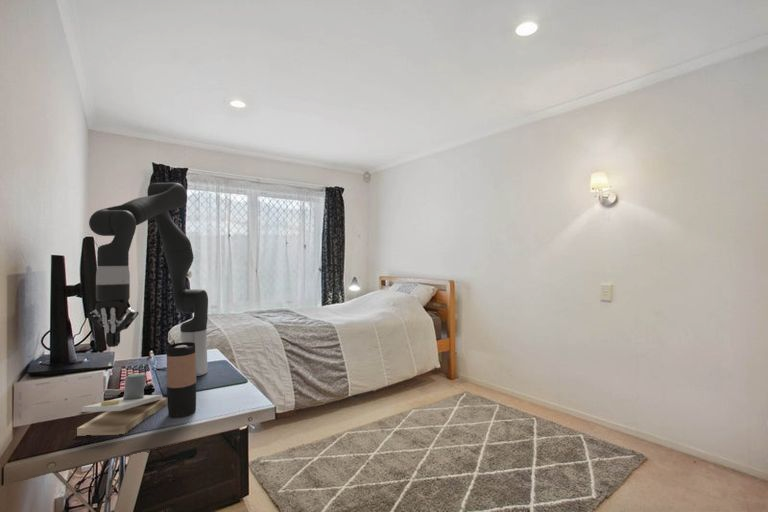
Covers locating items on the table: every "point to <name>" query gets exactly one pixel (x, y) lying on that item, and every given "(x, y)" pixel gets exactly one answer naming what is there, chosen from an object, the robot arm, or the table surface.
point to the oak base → (120, 419)
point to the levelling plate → (122, 404)
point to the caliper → (112, 392)
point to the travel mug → (181, 379)
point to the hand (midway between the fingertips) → (112, 346)
